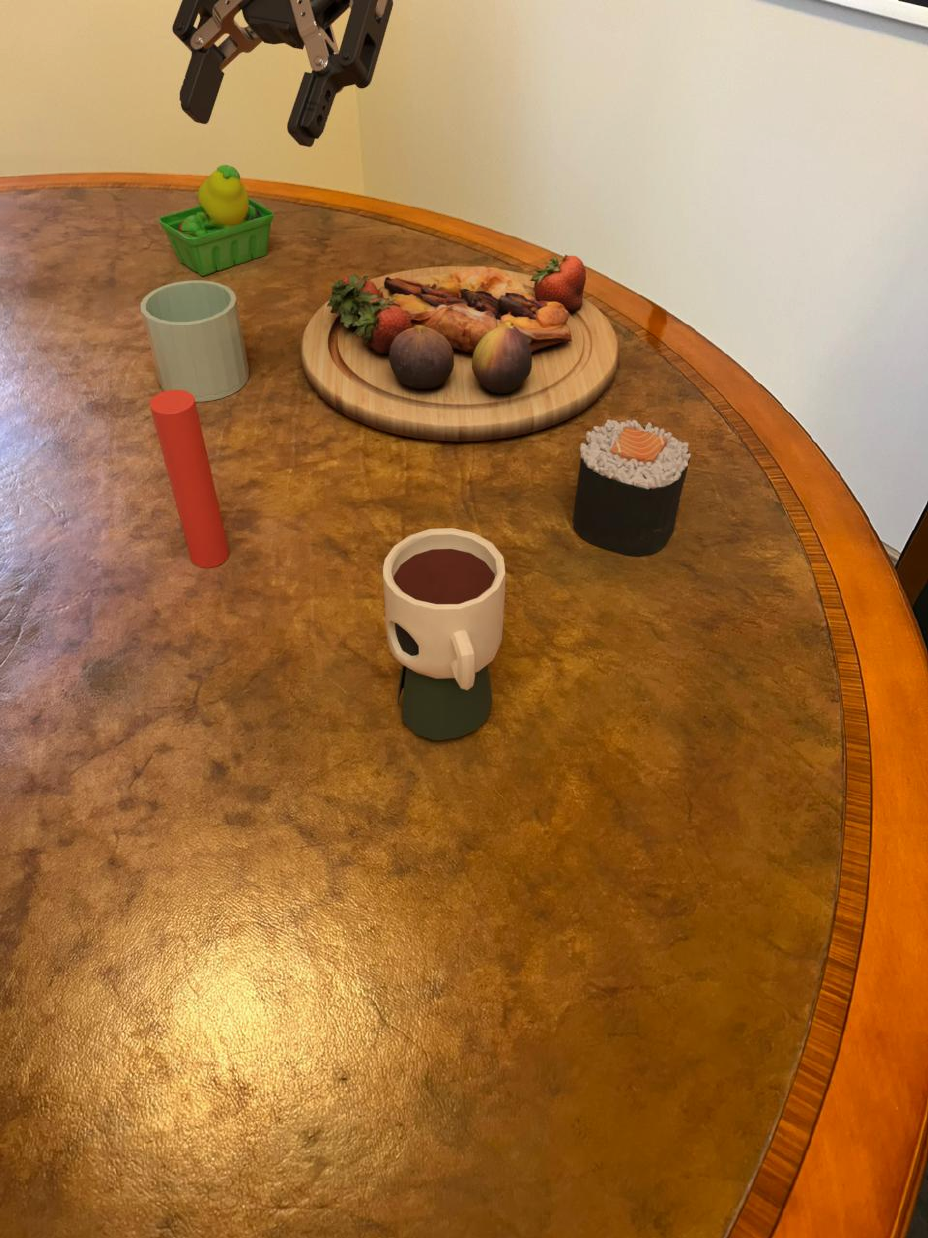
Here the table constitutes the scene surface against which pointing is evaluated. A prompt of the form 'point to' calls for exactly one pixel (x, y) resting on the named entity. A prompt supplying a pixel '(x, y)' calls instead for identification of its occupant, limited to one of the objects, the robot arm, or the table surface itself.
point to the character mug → (444, 627)
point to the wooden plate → (461, 350)
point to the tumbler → (196, 338)
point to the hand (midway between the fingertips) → (244, 128)
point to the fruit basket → (219, 225)
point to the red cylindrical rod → (190, 476)
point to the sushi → (629, 487)
